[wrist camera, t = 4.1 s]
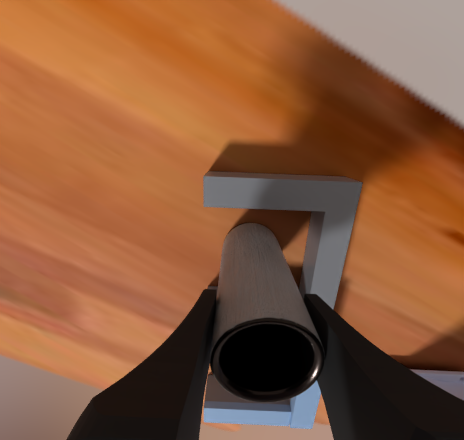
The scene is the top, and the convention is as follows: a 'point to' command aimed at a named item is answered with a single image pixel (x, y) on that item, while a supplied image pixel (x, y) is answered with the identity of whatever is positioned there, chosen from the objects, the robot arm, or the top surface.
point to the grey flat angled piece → (319, 234)
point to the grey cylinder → (261, 322)
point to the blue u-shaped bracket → (267, 411)
